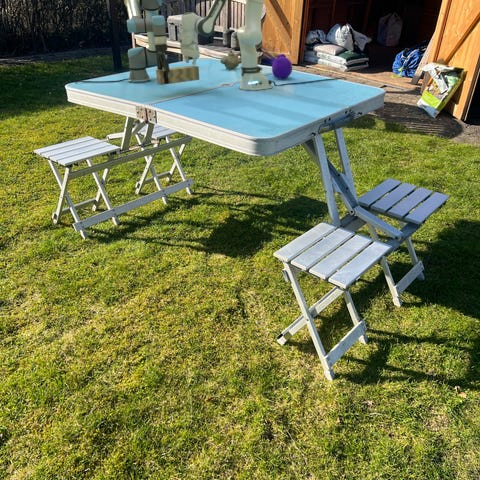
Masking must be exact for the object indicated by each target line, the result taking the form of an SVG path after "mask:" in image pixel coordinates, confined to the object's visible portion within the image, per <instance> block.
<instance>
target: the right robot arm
mask: <svg viewBox="0 0 480 480" xmlns="http://www.w3.org/2000/svg"><path fill="white" fill-rule="evenodd" d="M228 1H229V0H213V2H212V5H211V7H210V8H209V11H208V12H207V14H206V16H205V17H202V16H200V15H198V14H196V13H195V12H193V11H187V12H183V14H181V20H180V21H181V22H180V23H181V24H180V25H181V30H182V34H181V38H180V39H179V40H178V41H179V48H180V54H181V55H182V56H184V60H185V64H189V63H190V59H189V58H192V62H191V63H192V64H191V65H192V66H197V59H199V58H200V56H201V54H200V48H199V47H200V46H199V45H198V43H197V34H198V35H201V36H202V37H204V38H209V37H211V36H212V35H213V33H214V32H215V27H216V22H217V20H218V19H219V16H220V14H221V12H222V10H223V8H224V7H225V5H226V3H227V2H228ZM264 1H265V0H245V6H244V13H243V14H244V15H243V16H244V20H245V21H244V23H245V25H242V26H240V27H239V28H238V29H237V30H236V38H237V40H238V44H239V50H240V52H241V63H240V64H241V66H240V84H239V89H240V90H244V91H253V92H254V91H261V90H267V89H268V90H269V89H272V88H273V85H274V86H275V87H281V86H288V85H289V86H290V85H299V84H308V83H317V82H324V81H334V80H342V79H344V80H347V78H346V76H345V77H344V76H341V77H336V78H335V77H334V78H327V79H316V80H308V81H300V82H299V81H298V82H288V83H281V84H276V82H275V81H273V80H272V79H271V80H270V79H269V78H268V77H267V76H266V75H265V74H264V73H262V72H261V71H263V67H262V66H259V62H258V61H259V53H258V52H257V47H256V46H257V45H259V44H260V43H262V41H263V37H264V34H263V31H262V14H263V9H264ZM272 84H273V85H272Z"/></svg>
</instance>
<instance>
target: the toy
mask: <svg viewBox="0 0 480 480" xmlns="http://www.w3.org/2000/svg"><path fill="white" fill-rule="evenodd" d="M260 60H261V61H262V62H264V63H266V64H268V65H270V66H271V72H272V75H273V76H274V77H275V78H276V79H279V80H285V79H287V78H289V77H290V75H291V74H292V72H293V63H292V62H291V61H290V59H289V58H287V57H286V55H285V54H284V53H280V54H278V55H277V56H276V58H268V57H266V58H265V57H263V58H262V57H261V58H260Z"/></svg>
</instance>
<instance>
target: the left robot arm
mask: <svg viewBox="0 0 480 480" xmlns="http://www.w3.org/2000/svg"><path fill="white" fill-rule="evenodd" d="M162 2H163V1H162V0H123V3H124V6H125V8H126V10H127V15H128V19H127V20H126V27H127V32H128V33H129V34H133V33H134V34H138V33H139V34H140V33H146V34H147V44H146V48H144V47H143V46H137V47H132V48H130V49H128V50H127V57H128V64H129V65H128V66H129V76H128V78H127V77H126V78H123V79H119V80H103V81H102V80H101V81H99V80H95V81H93V80H76V81H75V82H74V84H77V83H93V84H94V83H99V84H100V83H118V82H119V83H120V82H124V81H127V80H128V82H129V83H133V84H141V83H148V82H150V75H149V74H148V71H147V67H151V66H156V70H161V69H164V72H163V73H164V83H165V85H169V84H168V83H169V79H168V72H169V68H170V64H169V55H167V54H166V51H168V44H167V41H168V40H167V39H168V37H167V32H166V20H165V19H166V18H165V16H164V15H159V10H160V9H161V6H163V3H162ZM140 7H142V10H143V11H144V12H145V18H142V15H141V11H140Z"/></svg>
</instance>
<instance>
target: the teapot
mask: <svg viewBox="0 0 480 480" xmlns="http://www.w3.org/2000/svg"><path fill="white" fill-rule="evenodd" d="M238 58H239V59H238ZM220 63H221V64H222V65H224V67H225V69H226V70H232V71H233V70H235V69H237V67H239V65H240V64H241V51H238V52H237V53H235V52H233V50H232V49H230V50H229V53H228V54H227V56H224V55H223V56H222V57H221V58H220Z"/></svg>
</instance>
